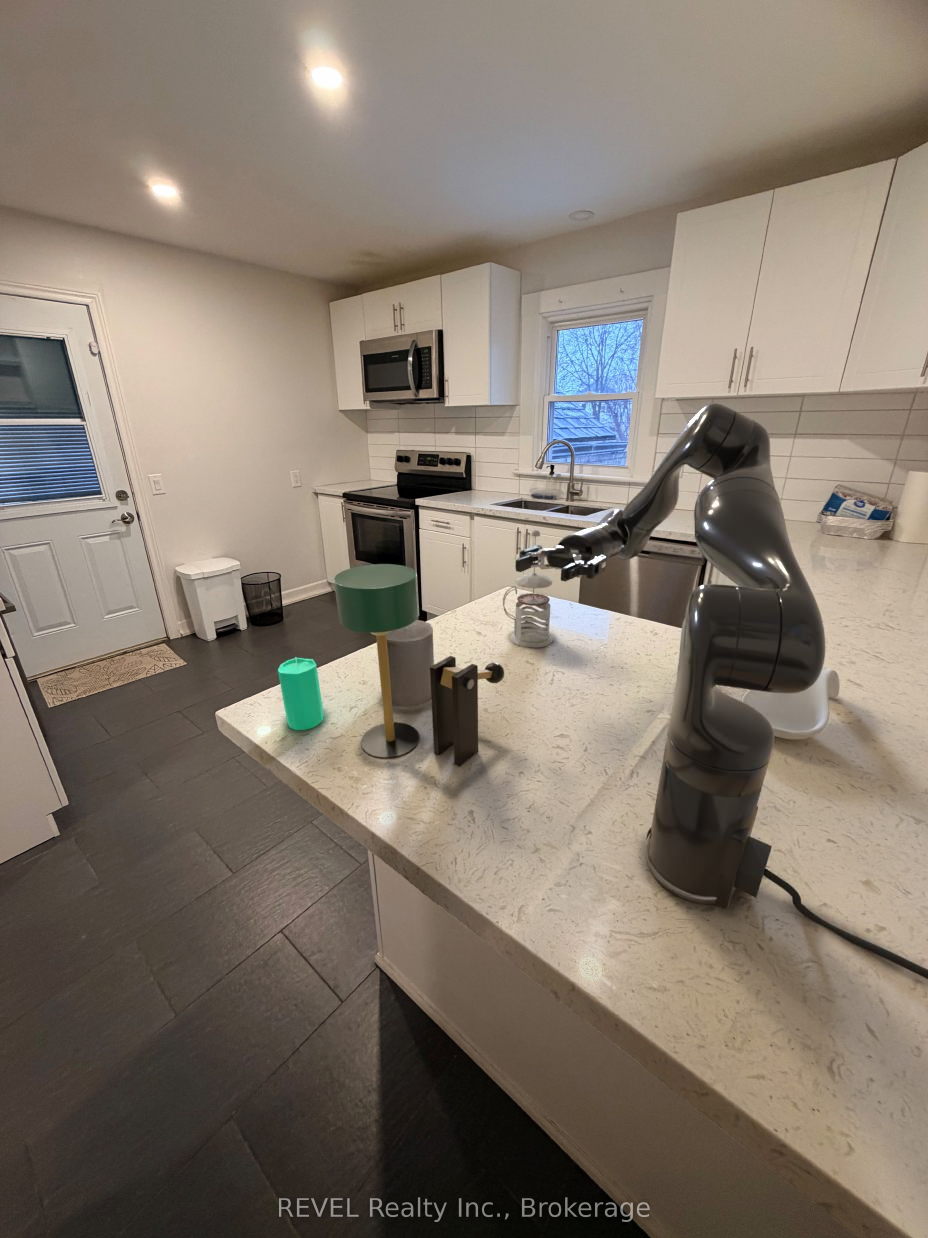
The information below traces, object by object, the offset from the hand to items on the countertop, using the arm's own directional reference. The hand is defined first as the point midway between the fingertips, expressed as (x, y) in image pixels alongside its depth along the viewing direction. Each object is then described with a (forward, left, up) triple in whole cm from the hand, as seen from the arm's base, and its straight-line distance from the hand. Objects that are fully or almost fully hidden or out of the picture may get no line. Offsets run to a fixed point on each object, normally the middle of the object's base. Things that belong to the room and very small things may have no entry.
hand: (539, 570), depth 80 cm
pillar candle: (+18, +14, -24) cm, 33 cm away
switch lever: (0, +18, -13) cm, 22 cm away
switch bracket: (0, +22, -24) cm, 33 cm away
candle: (+27, +30, -24) cm, 47 cm away
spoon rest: (-37, -22, -24) cm, 50 cm away
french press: (+15, -21, -24) cm, 36 cm away
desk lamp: (+8, +26, -24) cm, 36 cm away
